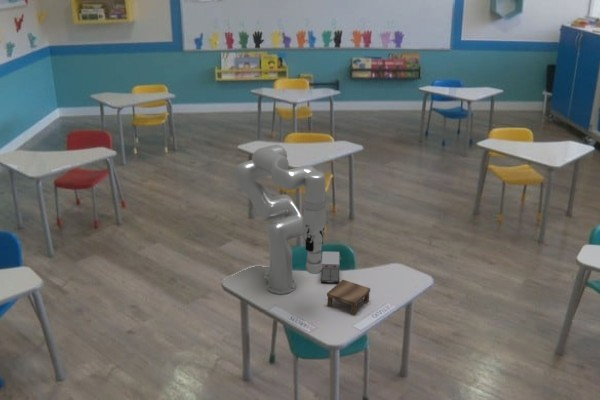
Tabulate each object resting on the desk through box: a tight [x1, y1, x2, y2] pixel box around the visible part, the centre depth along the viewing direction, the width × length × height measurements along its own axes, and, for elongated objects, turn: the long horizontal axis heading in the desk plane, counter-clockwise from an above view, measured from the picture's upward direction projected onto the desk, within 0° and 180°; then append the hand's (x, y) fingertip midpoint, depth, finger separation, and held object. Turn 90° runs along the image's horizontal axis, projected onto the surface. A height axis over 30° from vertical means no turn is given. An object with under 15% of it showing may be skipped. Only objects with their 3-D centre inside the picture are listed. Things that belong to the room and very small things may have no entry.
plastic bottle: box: [305, 232, 324, 275], centre depth 220 cm, size 6×7×20 cm
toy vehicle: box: [320, 251, 342, 284], centre depth 255 cm, size 10×17×10 cm, turn 177°
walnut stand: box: [326, 279, 371, 316], centre depth 234 cm, size 13×13×6 cm
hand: (314, 246), depth 220 cm, fingers closed on plastic bottle, 6 cm apart
